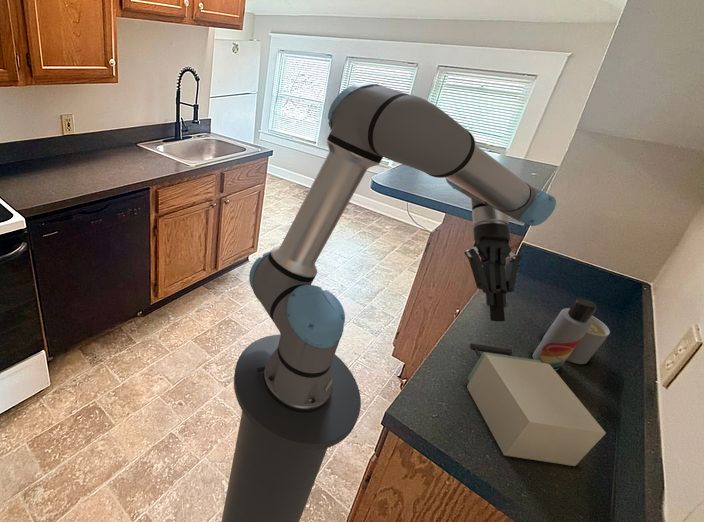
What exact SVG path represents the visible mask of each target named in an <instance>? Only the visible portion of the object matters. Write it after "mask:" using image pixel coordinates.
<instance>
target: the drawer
mask: <svg viewBox="0 0 704 522" xmlns="http://www.w3.org/2000/svg"><path fill="white" fill-rule="evenodd" d="M469 348H470V350H471V351H474V353H475V354H476V357H478V360H477V361H476V363H475V365H474V367H473V368H472V370H471V372H470V373H469V375H468V376H467V381H468V383H469V382H470V381H471V379H472V377H473V376H474V374H475V372H476V371H477V369H478V367H479V366H480V364H481V362H482V361H483V359H484V357H485V356H486V355H490V356H497V357H504V358H511V359H518V360H525V361H532V362H539V363H541V362H540V360H534V359H533V358H527V357H520V356H514V355H513V351H512V349H511V348H510V347H509V348H508V347H504V346H503V347H502V346H495V345H488V344H482V343H481V344H480V343H473V342H471V343H470V344H469ZM481 352H482V353H481Z"/></svg>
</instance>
